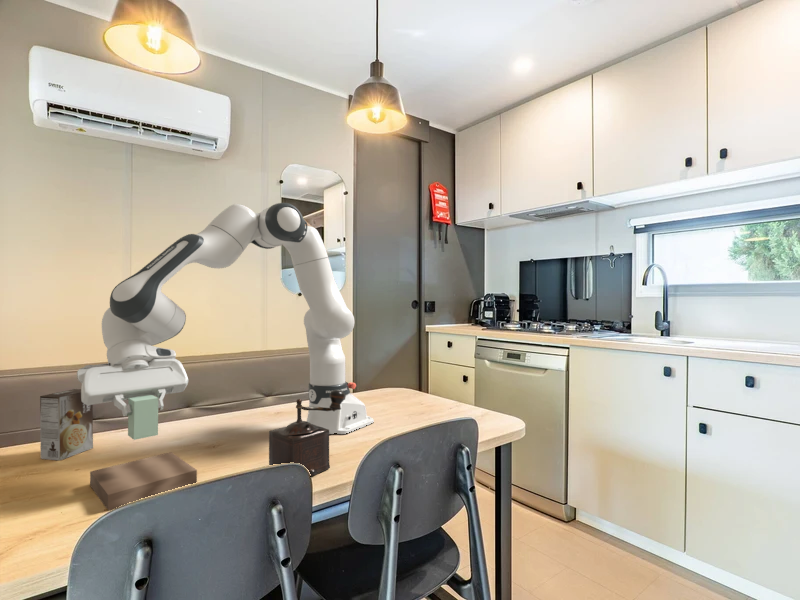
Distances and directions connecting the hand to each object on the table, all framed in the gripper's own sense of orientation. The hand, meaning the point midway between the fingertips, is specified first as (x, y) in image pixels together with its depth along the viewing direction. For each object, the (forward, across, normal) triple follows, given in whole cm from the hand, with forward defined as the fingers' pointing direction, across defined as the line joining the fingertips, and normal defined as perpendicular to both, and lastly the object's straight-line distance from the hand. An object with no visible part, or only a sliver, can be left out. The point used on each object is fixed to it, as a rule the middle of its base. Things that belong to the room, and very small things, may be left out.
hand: (144, 411), depth 89 cm
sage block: (+3, 0, +4) cm, 5 cm away
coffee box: (-14, -8, +37) cm, 41 cm away
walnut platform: (+11, 0, +12) cm, 16 cm away
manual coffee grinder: (+24, +30, -1) cm, 38 cm away
